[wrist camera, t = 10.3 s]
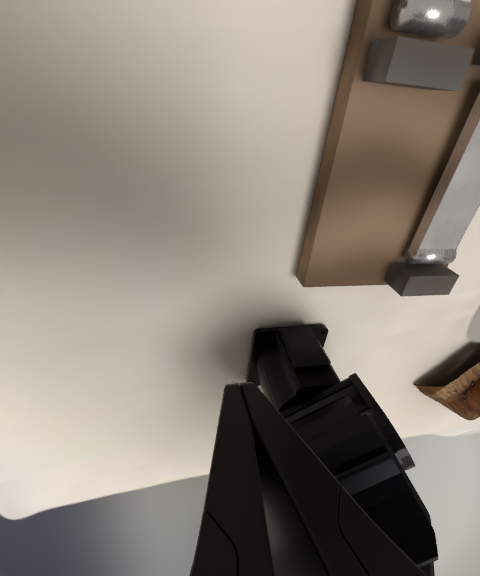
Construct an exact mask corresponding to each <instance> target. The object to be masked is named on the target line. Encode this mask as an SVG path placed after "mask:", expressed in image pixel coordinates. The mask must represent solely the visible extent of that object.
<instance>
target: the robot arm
mask: <svg viewBox="0 0 480 576" xmlns="http://www.w3.org/2000/svg"><path fill="white" fill-rule="evenodd" d="M322 330H323V331H322ZM259 334H261V335H259ZM327 334H328V329H327V327H326V326H325V325H311V326H294V327H277V328H260V329H257V330H255V331H254V333H253V338H252V344H251V351H250V357H249V364H248V370H247V377H246V383H240V384H237V383H235V384H226V385H225V388H224V393H223V399H222V405H221V411H220V416H219V422H218V428H217V434H216V440H215V445H214V451H213V457H212V463H211V468H210V474H209V481H208V486H207V492H206V497H205V503H204V510H203V514H202V520H201V526H200V531H199V536H198V541H197V546H196V551H195V556H194V561H193V564H192V568H191V573H190V576H434V561H436V560H438V552H437V544H436V537H435V532H434V530H433V527H432V526H431V519H430V515H429V513H428V511H427V509H426V507H425V505H424V504H423V502H422V500H421V499H420V497H419V495H418V494H417V492H416V490H415V488H414V486H413V485H412V483H411V481H410V480H409V478H408V476H407V474H406V473H405V471H404V470H408V469H410V468H412V467H415V464H414V462H413V460H412V458H411V456H410V454H409V452H408V450H407V449H406V447H405V445H404V443H403V442H402V440H401V438H400V437H399V435H398V433H397V432H396V430H395V429H394V427H393V425H392V424H391V422H390V421H389V419H388V418H387V416H386V415H385V413H384V412H383V410H382V409H381V408H380V406H379V405H378V404H377V402H376V401H375V399H374V398H373V397H372V395H371V394H370V392H369V391H368V390H367V388H366V387H365V385H364V384H363V383H362V381H361V380H360V378H359V377H358V376H357V374H356V373H354V374H352V375H350V376H349V378H347V379H345V380H343V381H340V379H339V378H338V376H337V374H336V372H335V371H334V369H333V367H332V366H331V361H330V359H329V358H328V356H327V354H326V353H325V351H324V349H323V346H324V343H325V340H326V337H327ZM258 335H259V336H258ZM259 385H261V388H262V391H263V393H262V391H261V390H260V389H259V388H258V387H257V386H259Z"/></svg>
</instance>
